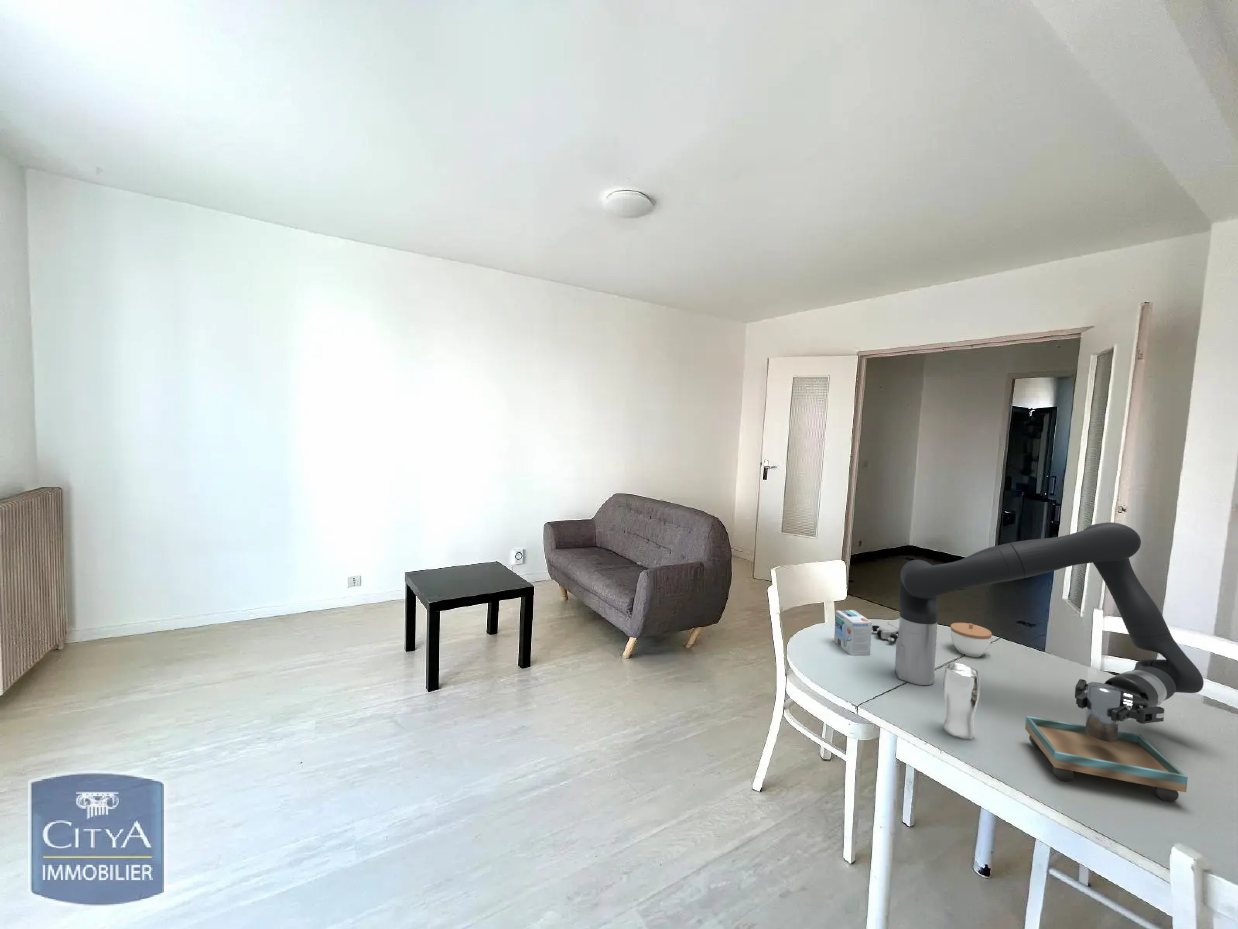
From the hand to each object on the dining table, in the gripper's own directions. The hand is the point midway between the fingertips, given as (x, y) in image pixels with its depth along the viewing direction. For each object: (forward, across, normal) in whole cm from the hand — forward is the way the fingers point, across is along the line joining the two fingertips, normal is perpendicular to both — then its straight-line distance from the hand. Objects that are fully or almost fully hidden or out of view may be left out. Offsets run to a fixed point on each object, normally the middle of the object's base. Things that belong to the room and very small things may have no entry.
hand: (1096, 709), depth 102 cm
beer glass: (+10, -21, +14) cm, 27 cm away
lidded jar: (-38, -45, +14) cm, 61 cm away
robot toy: (-27, -63, +14) cm, 70 cm away
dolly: (-2, 0, +14) cm, 14 cm away
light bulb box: (-6, -63, +14) cm, 65 cm away
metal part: (-3, 0, +6) cm, 7 cm away
